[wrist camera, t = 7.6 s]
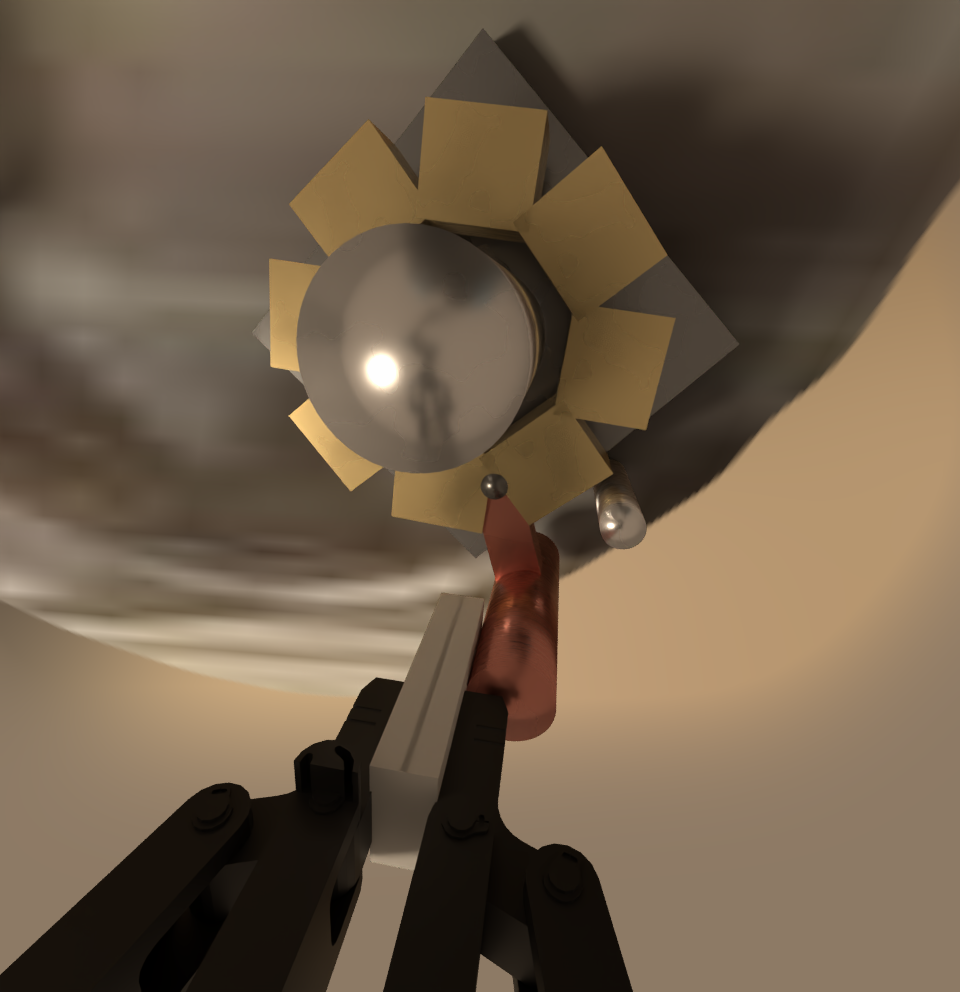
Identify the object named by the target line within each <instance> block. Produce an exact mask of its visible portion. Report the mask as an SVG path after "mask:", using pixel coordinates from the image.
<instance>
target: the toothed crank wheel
mask: <svg viewBox="0 0 960 992" xmlns="http://www.w3.org/2000/svg"><path fill="white" fill-rule="evenodd" d="M549 146H550V133H549V121H548V110H541V109H532V108H523V107H514V106H505V105H496V104H486V103H477V102H468V101H459V100H450V99H441V98H432V97H425V110H424V122H423V134H422V147H421V159H420V171H419V178H418V177H417V175H416V174H415V172H414V171H413V169H412V168H411V166H410V165H409V164H408V162H407V161H406V159H405V158H404V156H403V155H402V153H401V152H400V150H399V149H398V148H397V147H396V146H395V145H394V144H393V143H392V142H391V141H390V140H389V139H388V138H387V137H386V136H385V135H384V134H383V133H382V132H381V131H380V130H379V129H378V128H377V127H376V126H375V125H374V124H373V123H372V122H371V121H370V120H369V119H368V120H367V121H366V122H365V124H364V125H363V126H362V127H361V128H360V129H359V130H358V131H357V132H356V133H355V134H354V135H353V136H352V137H351V138H350V140H349V141H348V142H347V143H346V144H345V145H344V146H343V147H342V148H341V149H340V150H339V151H338V152H337V153H336V155H335V156H334V157H333V158H332V159H331V160H330V161H329V162H328V163H327V164H326V165H325V166H324V167H323V168H322V169H321V171H320V172H319V173H318V174H317V175H316V176H315V177H314V178H313V179H312V180H311V181H310V182H309V183H308V184H307V185H306V187H305V188H304V189H303V190H302V191H301V192H300V193H299V194H298V195H297V196H296V197H295V198H294V199H293V200H292V202H291V203H290V204H289V205H290V206H291V207H292V209H293V210H294V212H295V213H296V214H297V216H298V217H299V218H300V220H301V221H302V222H303V224H304V225H305V226H306V228H307V229H308V230H309V232H310V233H311V234H312V236H313V237H314V238H315V240H316V241H317V242H318V244H319V245H320V246H321V248H322V249H323V250H324V252H325V253H326V254H327V256H328V257H329V256H330V255H331V254H332V253H333V252H334V251H335V250H336V249H338V248H339V247H340V246H341V245H342V244H344V243H345V242H347V241H348V240H350V239H352V238H353V237H355V236H356V235H358V234H361V233H363V232H365V231H368V230H370V229H373V228H376V227H380V226H384V225H389V224H399V223H413V224H424V225H428V226H433V227H437V228H441V229H443V230H446V231H448V232H451V233H455V234H462V235H470V236H477V237H484V238H492V239H499V240H506V241H514V242H521V243H526V245H527V246H528V248H529V249H530V251H531V252H532V254H533V255H534V257H535V258H536V260H537V261H538V263H539V265H540V266H541V268H542V269H543V271H544V272H545V274H546V275H547V277H548V278H549V280H550V281H551V283H552V284H553V286H554V287H555V289H556V290H557V292H558V293H559V295H560V296H561V298H562V299H563V301H564V302H565V304H566V305H567V307H568V308H569V310H570V311H571V313H572V315H571V320H570V325H569V330H568V335H567V341H566V346H565V351H564V356H563V361H562V367H561V372H560V377H559V382H558V387H557V393H556V394H555V395H553V396H552V397H550V398H549V399H548V400H546V401H545V402H543V403H542V404H540V405H539V406H538V407H536V408H535V409H533V410H532V411H531V412H529V413H528V414H526V415H525V416H523V417H522V418H521V419H519V420H518V421H516V422H515V423H513V424H512V425H511V426H509V427H508V428H507V430H506V431H505V432H504V434H503V435H502V436H501V437H500V438H499V439H498V440H497V441H496V442H495V443H494V445H493V446H491V447H490V448H489V449H488V450H486V451H485V452H484V453H483V454H481V455H480V456H478V457H476V458H475V459H473V460H471V461H470V462H468V463H465V464H463V465H461V466H458V467H456V468H453V469H449V470H445V471H442V472H434V473H407V472H399V471H395V479H394V492H393V504H392V516H394V517H399V518H404V519H409V520H414V521H420V522H425V523H430V524H435V525H440V526H445V527H450V528H455V529H461V530H466V531H471V532H476V533H481V534H482V532H483V534H484V538H485V542H486V545H487V549H488V553H489V556H490V560H491V564H492V567H493V571H494V575H495V581H494V585H493V589H492V592H491V596H490V600H489V604H488V608H487V611H486V615H485V619H484V623H483V627H482V630H481V634H480V638H479V642H478V646H477V649H476V653H475V657H474V661H473V665H472V669H471V673H470V677H469V681H468V685H467V689H466V691H471V692H477V693H483V694H490V695H496V696H502V697H503V700H504V702H505V705H506V708H507V710H508V721H507V729H506V738H505V740H507V741H524V740H529V739H532V738H535V737H537V736H539V735H541V734H542V733H544V732H545V731H546V730H547V729H548V728H549V727H550V726H551V724H552V722H553V721H554V717H555V714H556V688H557V643H558V642H557V641H558V600H559V599H558V598H559V552H558V549H557V547H556V545H555V543H554V542H553V541H552V540H551V539H550V538H548V537H547V536H545V535H544V534H541V533H538V532H536V530H535V526H534V522H536V521H537V520H539V519H541V518H542V517H544V516H545V515H547V514H549V513H550V512H552V511H554V510H555V509H557V508H558V507H560V506H562V505H563V504H565V503H567V502H568V501H570V500H571V499H573V498H575V497H576V496H578V495H580V494H581V493H583V492H585V491H586V490H588V489H589V488H591V487H593V486H594V485H596V484H598V483H599V482H601V481H602V480H604V479H606V478H607V477H609V476H611V475H612V474H613V471H612V468H611V464H610V461H609V458H608V454H607V452H606V451H605V449H604V448H603V446H602V445H601V443H600V442H599V440H598V439H597V438H596V436H595V435H594V433H593V432H592V430H591V429H590V427H589V426H588V424H587V423H586V422H585V420H589V421H594V422H600V423H606V424H612V425H618V426H624V427H630V428H636V429H642V430H646V428H647V425H648V421H649V417H650V413H651V410H652V406H653V402H654V398H655V394H656V391H657V387H658V383H659V379H660V375H661V372H662V368H663V364H664V360H665V357H666V353H667V349H668V345H669V341H670V338H671V334H672V330H673V326H674V322H675V319H676V318H672V317H665V316H658V315H651V314H644V313H638V312H631V311H624V310H617V309H610V308H604V307H599V306H600V305H601V304H603V303H604V302H605V301H607V300H608V299H609V298H611V297H612V296H613V295H615V294H616V293H617V292H619V291H620V290H621V289H623V288H624V287H626V286H627V285H628V284H630V283H631V282H632V281H634V280H635V279H636V278H638V277H639V276H640V275H642V274H643V273H644V272H646V271H647V270H648V269H650V268H651V267H652V266H654V265H655V264H656V263H658V262H659V261H660V260H662V259H663V258H664V257H666V256H667V253H666V252H665V250H664V248H663V247H662V245H661V244H660V242H659V240H658V239H657V237H656V235H655V234H654V232H653V230H652V229H651V227H650V225H649V224H648V222H647V220H646V219H645V217H644V215H643V214H642V212H641V210H640V209H639V207H638V205H637V204H636V202H635V200H634V199H633V197H632V195H631V194H630V192H629V190H628V189H627V187H626V185H625V184H624V182H623V181H622V179H621V177H620V176H619V174H618V172H617V171H616V169H615V167H614V166H613V164H612V162H611V161H610V159H609V157H608V156H607V154H606V152H605V151H604V149H603V147H602V146H601V147H600V148H599V149H598V150H596V151H595V152H594V153H593V154H592V155H591V156H590V157H588V158H587V159H586V160H585V161H584V162H583V163H581V164H580V165H579V166H578V167H577V168H576V169H574V170H573V171H572V172H571V173H570V174H569V175H567V176H566V177H565V178H564V179H563V180H562V181H561V182H559V183H558V184H557V185H556V186H555V187H554V188H552V189H551V190H550V191H549V192H548V193H547V194H545V195H544V196H543V197H542V198H541V196H542V190H543V183H544V177H545V171H546V165H547V158H548V152H549ZM319 268H320V266H317V265H310V264H303V263H296V262H290V261H283V260H276V259H269V269H270V348H271V367H275V368H281V369H287V370H293V371H299V372H300V370H299V364H298V357H297V342H296V337H297V323H298V318H299V313H300V308H301V305H302V302H303V299H304V296H305V293H306V291H307V289H308V287H309V285H310V283H311V281H312V278H313V277H314V275H315V274H316V272H317V271H318V269H319ZM289 417H290V418H291V419H292V420H293V421H294V423H295V424H296V425H297V426H298V428H299V429H300V430H301V431H302V432H303V434H304V435H305V436H306V437H307V439H308V440H309V441H310V442H311V443H312V445H313V446H314V447H315V448H316V449H317V451H318V452H319V453H320V454H321V456H322V457H323V458H324V459H325V460H326V462H327V463H328V464H329V465H330V467H331V468H332V469H333V470H334V471H335V473H336V474H337V475H338V476H339V478H340V479H341V480H342V481H343V482H344V484H345V485H346V486H347V487H348V489H349V490H350V491H352V490H353V489H354V488H356V487H357V486H358V485H360V484H361V483H362V482H364V481H365V480H366V479H368V478H369V477H371V476H372V475H373V474H375V473H376V472H377V471H379V470H380V469H381V468H383V467H382V466H379V465H377V464H374V463H372V462H370V461H368V460H366V459H364V458H363V457H361V456H359V455H358V454H356V453H355V452H353V451H352V450H350V449H349V448H348V447H346V446H345V445H344V444H343V443H342V442H341V441H340V440H339V439H337V438H336V437H335V435H334V434H333V433H332V432H331V431H330V430H329V429H328V428H327V426H326V425H325V424H324V422H323V421H322V419H321V418H320V417H319V415H318V414H317V412H316V410H315V408H314V407H313V405H312V403H311V401H310V399H308V400H307V401H306V402H304V403H303V404H302V405H301V406H300V407H299V408H297V409H296V410H295V411H294V412H293V413H292V414H290V415H289Z"/></svg>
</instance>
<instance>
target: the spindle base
mask: <svg viewBox="0 0 960 992" xmlns="http://www.w3.org/2000/svg"><path fill="white" fill-rule="evenodd" d="M431 97H432V98H441V99H450V100H459V101H468V102H477V103H486V104H496V105H505V106H514V107H523V108H532V109H541V110H548V121H549V133H550V146H549V152H548V158H547V165H546V171H545V177H544V183H543V190H542V196H541V198H542V197H543V196H544V195H545V194H547V193H548V192H549V191H550V190H551V189H552V188H554V187H555V186H556V185H557V184H558V183H559V182H561V181H562V180H563V179H564V178H565V177H566V176H567V175H569V174H570V173H571V172H572V171H573V170H574V169H576V168H577V167H578V166H579V165H580V164H581V163H583V162H584V161H585V160H586V159H587V158H588V157H587V156H586V154H585V153H584V152H583V151H582V149H581V148H580V147H579V146H578V144H577V143H576V142H575V141H574V140H573V138H572V137H571V136H570V135H569V133H568V132H567V131H566V130H565V128H564V127H563V126H562V125H561V124H560V122H559V121H558V120H557V119H556V117H555V116H554V115H553V114H552V112H551V111H550V110H549V109H548V108H547V106H546V105H545V104H544V103H543V101H542V100H541V99H540V98H539V96H538V95H537V94H536V93H535V91H534V90H533V89H532V88H531V87H530V85H529V84H528V83H527V82H526V80H525V79H524V78H523V77H522V75H521V74H520V73H519V72H518V71H517V69H516V68H515V67H514V66H513V64H512V63H511V62H510V61H509V59H508V58H507V57H506V56H505V55H504V53H503V52H502V51H501V50H500V48H499V47H498V46H497V45H496V43H495V42H494V41H493V40H492V39H491V37H490V36H489V35H488V34H487V32H486V31H485V30H484V29H482V30H481V31H480V33H479V34H478V35H477V37H476V38H475V39H474V41H473V42H472V43H471V45H470V46H469V47H468V49H467V50H466V51H465V52H464V54H463V55H462V56H461V58H460V59H459V60H458V62H457V63H456V64H455V66H454V67H453V68H452V70H451V71H450V72H449V74H448V75H447V76H446V77H445V79H444V80H443V81H442V83H441V84H440V85H439V87H438V88H437V89H436V91H435V92H434V93H433V95H432V96H431ZM424 110H425V105H424V106H423V108H422V109H421V110H420V112H419V113H418V114H417V116H416V117H415V118H414V120H413V121H412V122H411V124H410V125H409V126H408V128H407V129H406V130H405V131H404V133H403V134H402V135H401V137H400V138H399V139H398V141H397V142H396V143H395V146H396V147H397V148H398V149H399V150H400V152H401V153H402V155H403V156H404V158H405V159H406V161H407V162H408V164H409V165H410V166H411V168H412V169H413V171H414V172H415V174H416V175H417V177H418V178H419V171H420V159H421V147H422V134H423V122H424ZM304 264H310V265H317V266H320V268H319V269H318V271H317V272H316V274H315V275H314V277H313V278H312V281H311V283H310V285H309V287H308V289H307V291H306V293H305V296H304V299H303V302H302V305H301V308H300V313H299V318H298V323H297V337H296V342H297V357H298V364H299V370H300V372H299V371H293V370H289V371H290V372H291V373H292V374H293V375H294V376H295V377H296V378H297V379H298V380H299V381H300V382H301V383H302V384H303V385H304V387H305V389H306V392H307V394H308V397H309V399H310V401H311V403H312V405H313V407H314V408H315V410H316V412H317V414H318V415H319V417H320V418H321V419H322V421H323V422H324V424H325V425H326V426H327V428H328V429H329V430H330V431H331V432H332V433H333V434H334V435H335V437H336V438H337V439H339V440H340V441H341V442H342V443H343V444H344V445H345V446H346V447H348V448H349V449H350V450H352V451H353V452H355V453H356V454H358V455H359V456H361V457H363V458H364V459H366V460H368V461H370V462H372V463H374V464H377V465H379V466H382V467H384V468H387V469H388V470H389V471H390V472H391V473H392V474H393V475H394V476H395V471H399V472H407V473H434V472H442V471H445V470H449V469H453V468H456V467H458V466H461V465H463V464H465V463H468V462H470V461H471V460H473V459H475V458H476V457H478V456H480V455H481V454H483V453H484V452H485V451H486V450H488V449H489V448H490V447H491V446H493V445H494V443H495V442H496V441H497V440H498V439H499V438H500V437H501V436H502V435H503V434H504V432H505V431H506V430H507V428H508V427H509V426H511V425H512V424H513V423H515V422H516V421H518V420H519V419H521V418H522V417H523V416H525V415H526V414H528V413H529V412H531V411H532V410H533V409H535V408H536V407H538V406H539V405H540V404H542V403H543V402H545V401H546V400H548V399H549V398H550V397H552V396H553V395H555V394H556V393H557V387H558V382H559V377H560V372H561V367H562V361H563V356H564V351H565V346H566V341H567V335H568V330H569V325H570V320H571V315H572V313H571V311H570V310H569V308H568V307H567V305H566V304H565V302H564V301H563V299H562V298H561V296H560V295H559V293H558V292H557V290H556V289H555V287H554V286H553V284H552V283H551V281H550V280H549V278H548V277H547V275H546V274H545V272H544V271H543V269H542V268H541V266H540V265H539V263H538V261H537V260H536V258H535V257H534V255H533V254H532V252H531V251H530V249H529V248H528V246H527V245H526V243H521V242H514V241H506V240H499V239H492V238H484V237H477V236H470V235H462V234H455V233H451V232H448V231H446V230H443V229H441V228H437V227H433V226H428V225H424V224H413V223H399V224H389V225H384V226H380V227H376V228H373V229H370V230H368V231H365V232H363V233H361V234H358V235H356V236H355V237H353V238H352V239H350V240H348V241H347V242H345V243H344V244H342V245H341V246H340V247H339V248H338V249H336V250H335V251H334V252H333V253H332V254H331V255H330V256H329V257H328V256H327V254H326V253H325V252H324V250H323V249H322V248H321V246H320V245H318V246H317V247H316V249H315V250H314V251H313V253H312V254H311V255H310V257H309V258H308V259H307V260H306V262H305V263H304ZM599 307H604V308H610V309H617V310H624V311H631V312H638V313H644V314H651V315H658V316H665V317H672V318H676V319H675V322H674V326H673V330H672V334H671V338H670V341H669V345H668V349H667V353H666V357H665V360H664V364H663V368H662V372H661V375H660V379H659V383H658V387H657V391H656V394H655V398H654V402H653V406H652V410H651V413H650V417H651V416H652V415H653V414H654V413H656V412H657V411H658V410H659V409H660V408H662V407H663V406H664V405H665V404H667V403H668V402H669V401H670V400H672V399H673V398H674V397H675V396H677V395H678V394H679V393H680V392H681V391H683V390H684V389H685V388H686V387H688V386H689V385H690V384H691V383H693V382H694V381H695V380H696V379H697V378H699V377H700V376H701V375H702V374H704V373H705V372H706V371H707V370H709V369H710V368H711V367H712V366H714V365H715V364H716V363H717V362H718V361H720V360H721V359H722V358H723V357H725V356H726V355H727V354H728V353H730V352H731V351H732V350H733V349H734V348H736V347H737V346H738V345H739V343H738V341H737V340H736V339H735V338H734V337H733V335H732V334H731V333H730V332H729V330H728V329H727V328H726V327H725V325H724V324H723V323H722V322H721V321H720V319H719V318H718V317H717V316H716V314H715V313H714V312H713V311H712V309H711V308H710V307H709V306H708V305H707V303H706V302H705V301H704V300H703V298H702V297H701V296H700V295H699V293H698V292H697V291H696V290H695V289H694V287H693V286H692V285H691V284H690V282H689V281H688V280H687V279H686V277H685V276H684V275H683V274H682V273H681V271H680V270H679V269H678V268H677V266H676V265H675V264H674V263H673V261H672V260H671V259H670V258H669V257H668V255H667V256H666V257H664V258H663V259H662V260H660V261H659V262H658V263H656V264H655V265H654V266H652V267H651V268H650V269H648V270H647V271H646V272H644V273H643V274H642V275H640V276H639V277H638V278H636V279H635V280H634V281H632V282H631V283H630V284H628V285H627V286H626V287H624V288H623V289H621V290H620V291H619V292H617V293H616V294H615V295H613V296H612V297H611V298H609V299H608V300H607V301H605V302H604V303H603V304H601V305H600V306H599ZM252 333H253V334H254V335H255V336H256V337H257V338H258V339H259V340H260V341H261V342H262V343H263V344H264V345H265V346H266V347H267V348H268V349H269V350H270V351H271V348H270V309H269V310H268V312H267V313H266V314H265V316H264V317H263V318H262V320H261V321H260V322H259V324H258V325H257V326H256V328H255V329H254V330H253V332H252ZM585 422H586V423H587V424H588V426H589V427H590V429H591V430H592V432H593V433H594V435H595V436H596V438H597V439H598V440H599V442H600V443H601V445H602V446H603V448H604V449H605V451H606V452H607V451H609V450H610V449H611V448H612V447H614V446H615V445H616V444H617V443H619V442H620V441H621V440H622V439H623V438H625V437H626V436H627V435H628V434H630V433H631V432H632V431H633V430H635V429H636V428H630V427H624V426H618V425H612V424H606V423H600V422H594V421H589V420H585ZM609 461H610V464H611V468H612V471H613V474H612V475H611V476H609V477H607V478H606V479H604V480H602V481H601V482H599V483H598V484H596V485H594V486H593V489H594V495H595V502H596V508H597V514H598V520H599V526H600V533H601V536H602V538H603V540H604V541H605V542H606V543H607V544H608V545H610V546H611V547H614V548H617V549H629V548H632V547H634V546H636V545H638V544H639V543H640V542H641V541H642V540H643V538H644V536H645V534H646V522H645V520H644V517H643V514H642V512H641V509H640V506H639V504H638V501H637V499H636V496H635V493H634V491H633V488H632V486H631V483H630V480H629V478H628V475H627V473H626V470H625V468H624V466H623V465H622V464H621V463H620V462H618V461H616V460H609ZM444 527H445V526H444ZM445 528H446V529H447V530H448V531H449V532H450V533H451V534H452V535H453V536H454V537H455V538H456V539H457V540H458V541H459V542H460V543H461V544H462V545H463V546H464V547H465V548H466V549H467V550H468V551H469V552H470V553H471V554H472V555H473V556H474V557H475V558H477V557H478V556H479V555H480V554H482V553H483V552H484V551H485V550H487V545H486V542H485V538H484V534H483V532H482V534H481V533H476V532H471V531H466V530H461V529H455V528H450V527H445Z"/></svg>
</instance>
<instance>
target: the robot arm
mask: <svg viewBox="0 0 960 992" xmlns="http://www.w3.org/2000/svg"><path fill="white" fill-rule="evenodd" d="M483 608H484V599H483V598H476V597H469V596H462V595H455V594H448V593H441V596H440V598H439V600H438V603H437V605H436V607H435V610H434V612H433V615H432V617H431V619H430V622H429V624H428V627H427V629H426V631H425V634H424V636H423V639H422V641H421V643H420V646H419V648H418V651H417V653H416V655H415V658H414V660H413V663H412V665H411V667H410V670H409V672H408V675H407V677H406V679H405V682H401V681H395V680H389V679H382V678H375V679H374V680H372V681H371V682H370V683H369V684H368V685H367V686H365V687H364V688H363V689H362V690H361V692H360V694H359V696H358V697H357V699H356V701H355V703H354V705H353V708H352V709H351V711H350V713H349V715H348V717H347V720H346V721H345V722H344V724H343V726H342V728H341V730H340V732H339V734H338V736H337V738H336V740H325V741H322V742H318V743H315V744H313V745H311V746H309V747H308V748H306V749H305V750H303V751H302V752H301V753H300V754H299V755H298V756H297V758H296V759H295V760H294V769H295V783H296V790H295V791H293V792H291V793H288V794H284V795H279V796H272V797H265V798H256V799H250V796H249V793H248V791H247V790H245V789H244V788H243V787H242V786H241V785H237V784H233V783H222V784H215V785H212V786H210V787H207V788H205V789H203V790H201V791H199V792H198V793H196V794H195V795H194V796H192V797H191V798H190V799H188V800H187V801H186V802H185V803H184V804H183V805H182V806H181V807H180V808H179V809H177V810H176V811H175V812H174V813H173V814H172V815H171V816H170V817H169V818H168V819H167V820H166V821H165V822H164V823H163V824H161V825H160V826H159V827H158V828H157V829H156V830H155V831H154V832H153V833H152V834H151V835H150V836H149V837H148V838H147V839H145V840H144V841H143V842H142V843H141V844H140V845H139V846H138V847H137V848H136V849H135V850H134V851H133V852H131V853H130V854H129V855H128V856H127V857H126V858H125V859H124V860H123V861H122V862H121V863H120V864H119V865H117V866H116V867H115V868H114V869H113V870H112V871H111V872H110V873H109V874H108V875H107V876H106V877H105V878H104V879H102V880H101V881H100V882H99V883H98V884H97V885H96V886H95V887H94V888H93V889H92V890H91V891H90V892H88V893H87V895H85V896H84V897H83V898H82V899H81V900H80V901H79V902H78V903H77V904H76V905H75V906H74V907H72V908H71V910H69V911H68V912H67V913H66V914H65V915H64V916H63V917H62V918H61V919H60V920H59V921H57V922H56V923H55V924H54V925H53V926H52V927H51V928H50V929H49V930H48V931H47V932H46V933H45V934H43V935H42V936H41V937H40V938H39V939H38V940H37V941H36V942H35V943H34V944H33V945H32V946H31V947H30V948H29V949H27V950H26V951H25V952H24V953H23V954H22V955H21V956H20V957H19V958H18V959H17V960H16V961H14V962H13V963H12V964H11V965H10V966H9V967H8V968H7V969H6V970H5V971H4V972H3V973H2V974H1V975H0V992H326V990H327V987H328V984H329V981H330V978H331V975H332V972H333V970H334V966H335V964H336V960H337V958H338V955H339V952H340V949H341V946H342V943H343V940H344V938H345V935H346V931H347V929H348V926H349V923H350V920H351V917H352V914H353V911H354V909H355V906H356V903H357V900H358V897H359V894H360V891H361V884H362V868H363V865H364V862H365V859H366V857H367V854H368V851H369V848H370V862H375V863H380V864H384V865H389V866H394V867H398V868H404V869H408V870H413V871H414V873H413V877H412V881H411V885H410V888H409V893H408V896H407V900H406V905H405V908H404V912H403V916H402V920H401V924H400V928H399V932H398V935H397V940H396V943H395V948H394V951H393V955H392V959H391V963H390V967H389V971H388V975H387V979H386V982H385V987H384V990H383V992H476V985H477V977H478V969H479V960H480V954H482V955H483V956H484V957H486V958H487V959H489V960H490V961H492V962H493V963H495V964H496V965H497V966H499V967H500V968H502V969H503V970H505V971H506V972H508V973H509V974H510V975H512V976H513V984H514V992H633V990H632V987H631V984H630V980H629V977H628V974H627V971H626V967H625V964H624V960H623V957H622V954H621V951H620V947H619V944H618V941H617V937H616V934H615V931H614V928H613V924H612V921H611V917H610V914H609V911H608V907H607V905H606V901H605V897H604V894H603V891H602V888H601V884H600V881H599V878H598V876H597V874H596V872H595V870H594V868H593V866H592V864H591V863H590V862H589V861H588V860H587V859H586V857H585V856H584V855H583V854H582V853H581V852H579V851H577V850H575V849H573V848H571V847H570V846H567V845H560V844H551V845H547V846H543V847H541V848H540V849H539V850H537V849H535V848H533V847H531V846H530V845H528V844H526V843H524V842H523V841H521V840H520V839H518V838H517V837H515V836H514V835H513V834H512V833H511V832H510V831H509V830H508V829H507V828H506V826H505V825H504V823H503V821H502V819H501V817H500V814H499V810H498V797H499V788H500V780H501V772H502V764H503V755H504V747H505V738H506V729H507V721H508V710H507V708H506V705H505V702H504V700H503V697H502V696H496V695H490V694H483V693H477V692H471V691H466V689H467V685H468V681H469V677H470V673H471V669H472V665H473V661H474V657H475V653H476V649H477V646H478V642H479V638H480V634H481V630H482V620H483Z"/></svg>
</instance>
